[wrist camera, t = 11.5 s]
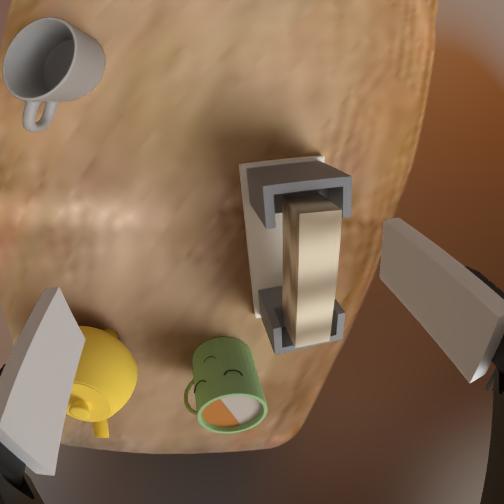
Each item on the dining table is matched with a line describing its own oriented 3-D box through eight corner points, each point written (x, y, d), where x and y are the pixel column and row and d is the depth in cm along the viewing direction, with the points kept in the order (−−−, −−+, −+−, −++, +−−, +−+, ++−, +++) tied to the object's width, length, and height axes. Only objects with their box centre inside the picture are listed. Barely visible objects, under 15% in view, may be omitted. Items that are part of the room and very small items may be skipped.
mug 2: (237, 326, 50) (252, 382, 39) (259, 366, 55) (276, 419, 44) (167, 353, 50) (167, 411, 39) (195, 390, 55) (201, 443, 44)
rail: (282, 196, 36) (299, 213, 31) (319, 193, 37) (342, 210, 31) (282, 319, 43) (295, 348, 38) (313, 313, 44) (329, 341, 39)
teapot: (147, 397, 54) (146, 459, 42) (70, 393, 51) (58, 450, 38) (133, 312, 46) (123, 380, 33) (41, 309, 42) (12, 370, 30)
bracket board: (238, 163, 39) (254, 182, 30) (321, 155, 41) (357, 171, 32) (254, 314, 50) (269, 358, 41) (321, 300, 51) (347, 339, 42)
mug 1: (57, 32, 27) (19, 13, 17) (116, 41, 30) (92, 20, 20) (29, 121, 31) (-16, 130, 21) (84, 134, 34) (50, 145, 24)
